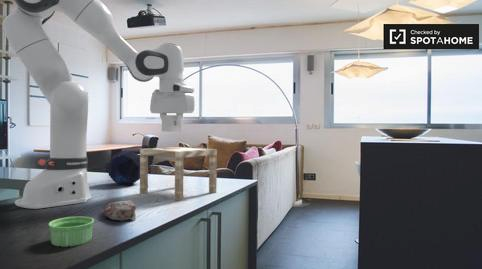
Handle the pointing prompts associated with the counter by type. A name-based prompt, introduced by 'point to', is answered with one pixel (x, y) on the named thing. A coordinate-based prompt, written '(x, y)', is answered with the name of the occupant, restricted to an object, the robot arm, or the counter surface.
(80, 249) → the counter surface
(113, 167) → the decorative orb
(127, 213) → the mineral rock
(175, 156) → the wooden stool
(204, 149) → the trapdoor
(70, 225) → the ramekin
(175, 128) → the stone block
